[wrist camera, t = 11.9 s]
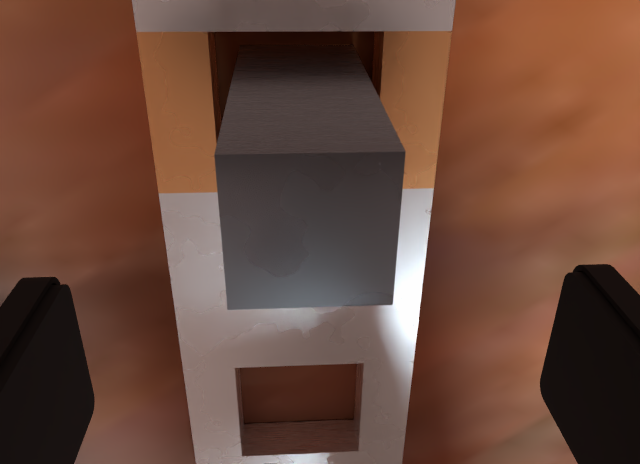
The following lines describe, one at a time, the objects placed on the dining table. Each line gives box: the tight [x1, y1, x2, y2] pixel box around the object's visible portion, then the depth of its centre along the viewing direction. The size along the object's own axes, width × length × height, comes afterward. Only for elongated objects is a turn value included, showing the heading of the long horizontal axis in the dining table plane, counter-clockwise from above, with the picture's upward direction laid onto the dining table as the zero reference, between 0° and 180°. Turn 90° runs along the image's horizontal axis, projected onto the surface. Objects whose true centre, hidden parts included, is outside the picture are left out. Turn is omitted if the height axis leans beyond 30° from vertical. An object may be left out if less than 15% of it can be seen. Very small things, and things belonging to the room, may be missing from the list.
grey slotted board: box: [132, 0, 456, 464], centre depth 25 cm, size 28×10×2 cm, turn 179°
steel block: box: [214, 45, 406, 310], centre depth 18 cm, size 4×4×10 cm
